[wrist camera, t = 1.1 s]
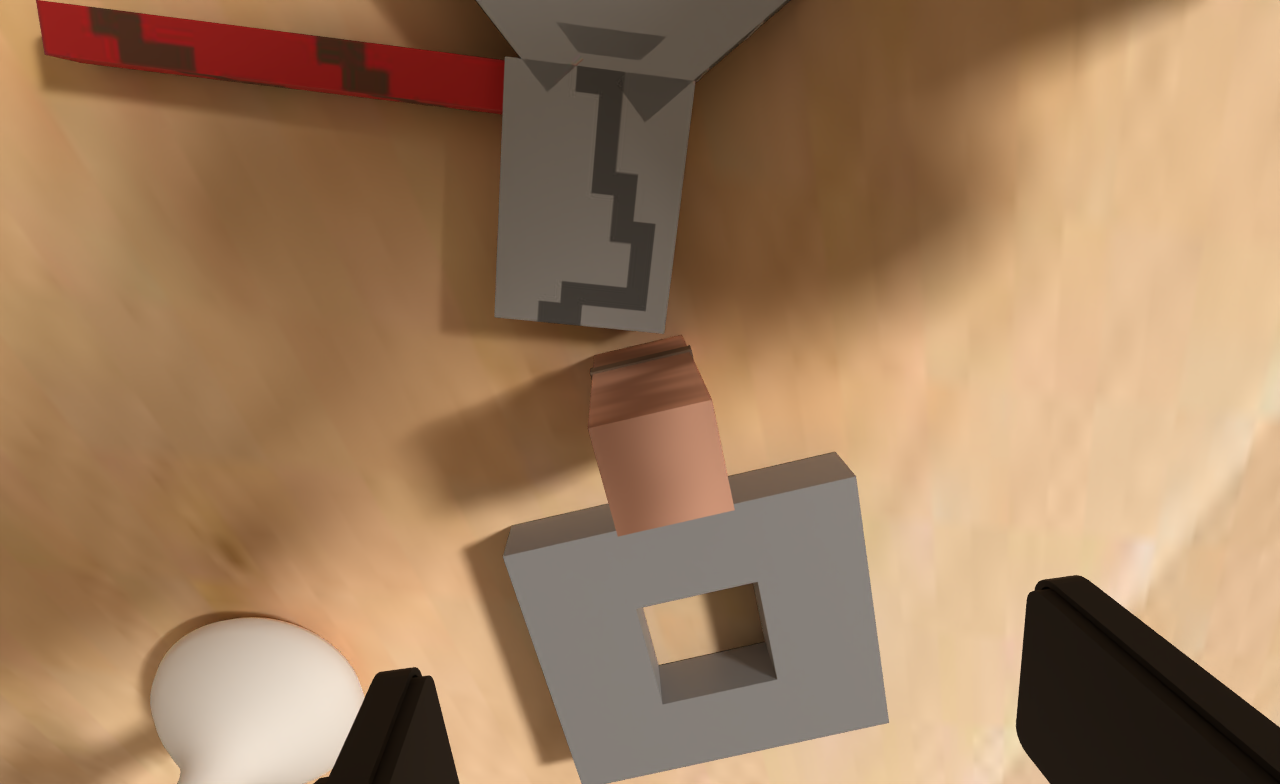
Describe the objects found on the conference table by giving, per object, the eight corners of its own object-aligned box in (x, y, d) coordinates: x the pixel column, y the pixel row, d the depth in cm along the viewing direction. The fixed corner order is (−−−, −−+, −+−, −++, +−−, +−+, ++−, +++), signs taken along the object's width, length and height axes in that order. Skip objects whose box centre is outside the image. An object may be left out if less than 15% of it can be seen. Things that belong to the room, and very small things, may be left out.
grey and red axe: (-73, -521, 19) (887, -343, 22) (34, -412, 23) (848, -269, 25) (61, 274, 27) (766, 343, 29) (126, 263, 30) (749, 326, 32)
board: (835, 451, 34) (856, 476, 31) (868, 683, 39) (888, 722, 36) (511, 525, 35) (502, 556, 32) (585, 745, 40) (583, 788, 37)
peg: (683, 332, 32) (714, 396, 22) (701, 417, 33) (737, 511, 24) (591, 353, 32) (584, 426, 23) (614, 438, 34) (615, 539, 24)
